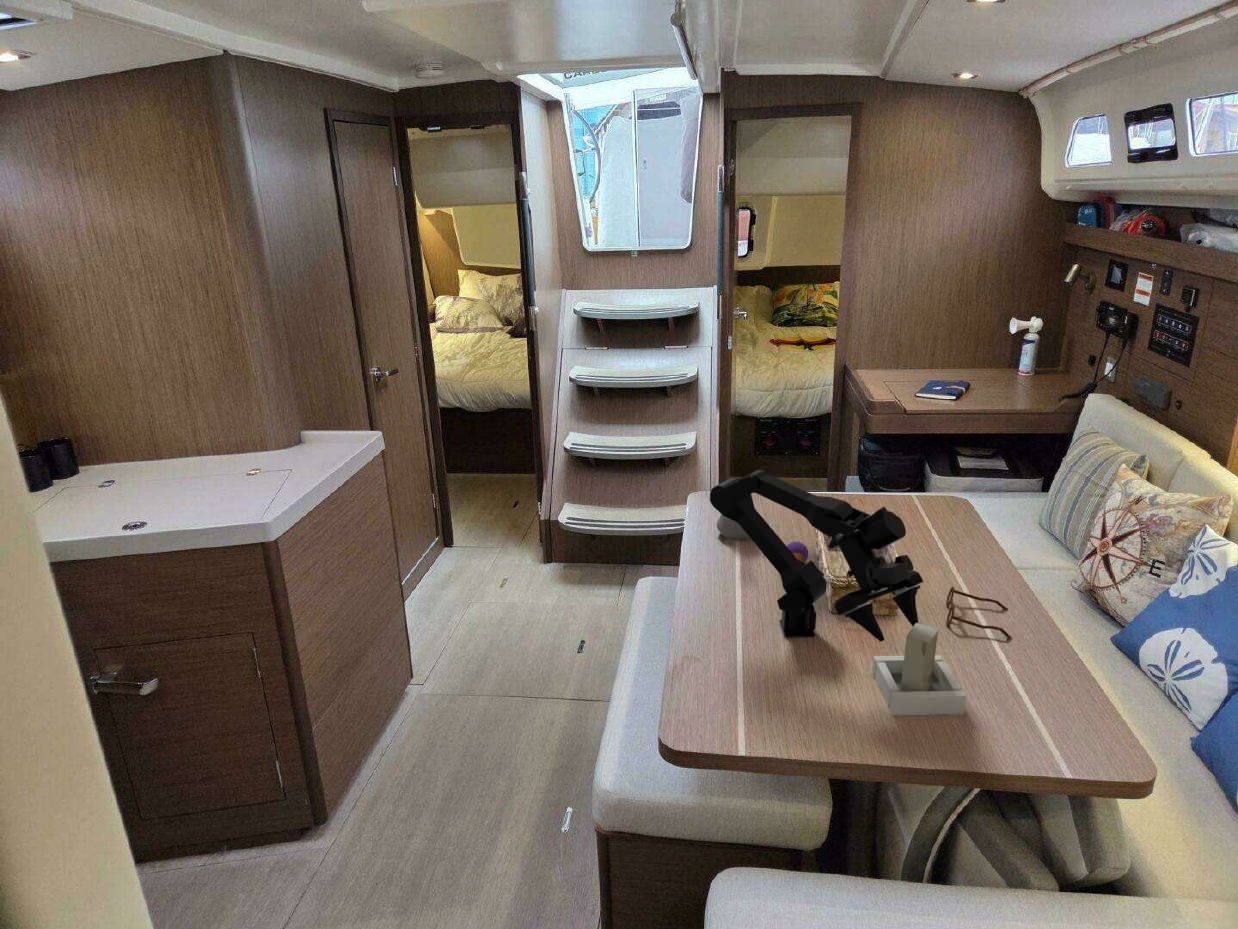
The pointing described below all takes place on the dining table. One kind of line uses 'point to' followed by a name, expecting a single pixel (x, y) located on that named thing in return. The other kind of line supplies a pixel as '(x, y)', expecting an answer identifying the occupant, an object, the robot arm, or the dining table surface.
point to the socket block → (936, 700)
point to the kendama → (798, 550)
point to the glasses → (948, 622)
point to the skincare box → (919, 658)
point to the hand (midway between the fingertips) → (899, 634)
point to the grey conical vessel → (731, 529)
